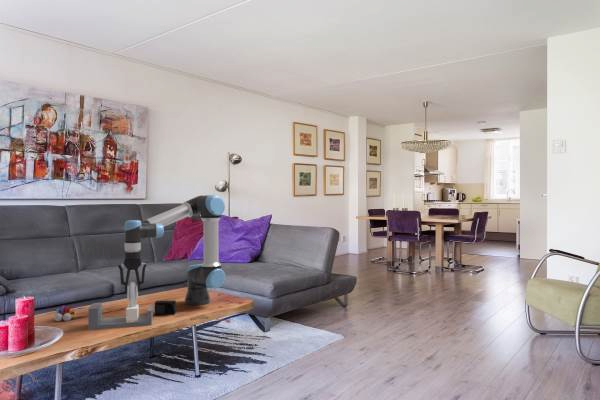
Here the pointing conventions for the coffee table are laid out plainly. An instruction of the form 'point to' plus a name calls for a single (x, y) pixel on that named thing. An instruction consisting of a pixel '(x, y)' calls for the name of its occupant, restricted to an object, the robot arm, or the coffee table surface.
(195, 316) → the coffee table surface
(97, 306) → the bench clamp
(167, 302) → the digital camera
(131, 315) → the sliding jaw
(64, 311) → the rainbow disc rattle
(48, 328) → the coffee table surface
